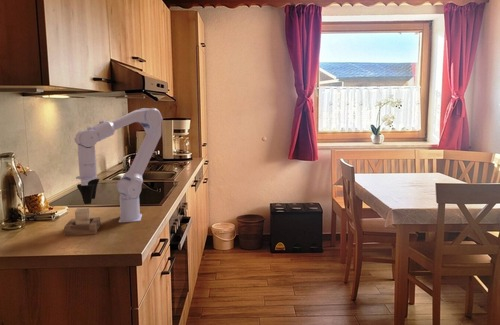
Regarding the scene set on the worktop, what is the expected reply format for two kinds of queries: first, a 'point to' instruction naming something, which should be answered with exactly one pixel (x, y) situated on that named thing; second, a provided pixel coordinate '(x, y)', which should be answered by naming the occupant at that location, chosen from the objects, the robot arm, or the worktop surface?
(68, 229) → the walnut holder
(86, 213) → the birch post
